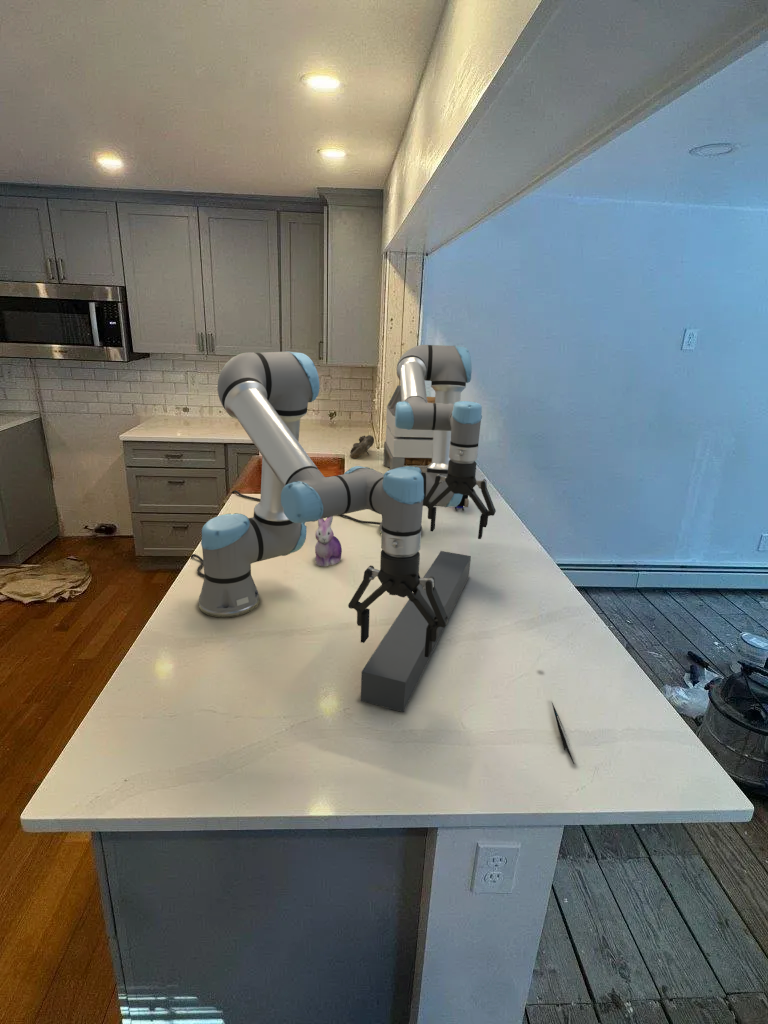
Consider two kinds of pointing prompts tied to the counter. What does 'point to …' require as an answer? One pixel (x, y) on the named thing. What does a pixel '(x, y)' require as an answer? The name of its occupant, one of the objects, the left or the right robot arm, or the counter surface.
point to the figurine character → (463, 502)
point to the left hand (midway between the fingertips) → (395, 646)
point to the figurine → (327, 544)
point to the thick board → (411, 639)
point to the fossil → (362, 446)
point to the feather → (562, 734)
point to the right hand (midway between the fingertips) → (455, 533)
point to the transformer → (406, 440)
